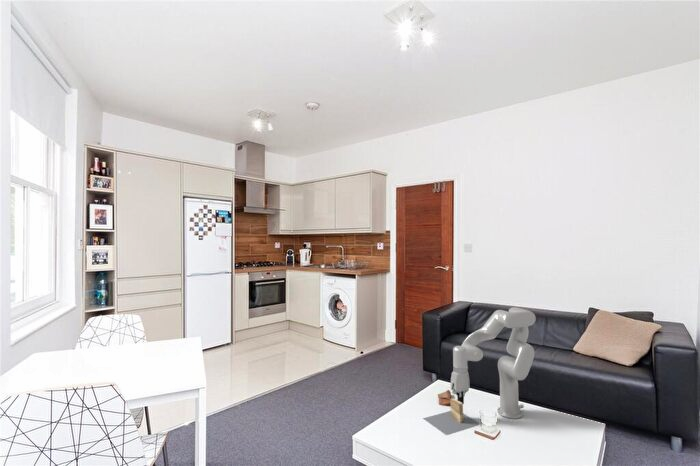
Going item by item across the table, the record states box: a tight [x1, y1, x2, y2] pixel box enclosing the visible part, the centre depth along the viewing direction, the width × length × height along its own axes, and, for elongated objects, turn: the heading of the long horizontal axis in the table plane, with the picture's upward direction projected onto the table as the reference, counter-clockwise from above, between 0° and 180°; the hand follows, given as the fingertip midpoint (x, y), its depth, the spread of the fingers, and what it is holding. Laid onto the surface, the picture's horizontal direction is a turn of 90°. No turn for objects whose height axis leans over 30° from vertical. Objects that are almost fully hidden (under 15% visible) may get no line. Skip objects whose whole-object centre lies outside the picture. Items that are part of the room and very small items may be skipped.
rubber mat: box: [422, 410, 480, 436], centre depth 189 cm, size 24×19×1 cm
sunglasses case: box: [437, 389, 452, 408], centre depth 215 cm, size 18×7×7 cm, turn 169°
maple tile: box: [450, 398, 464, 423], centre depth 191 cm, size 3×7×10 cm, turn 26°
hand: (460, 403), depth 192 cm, fingers closed
